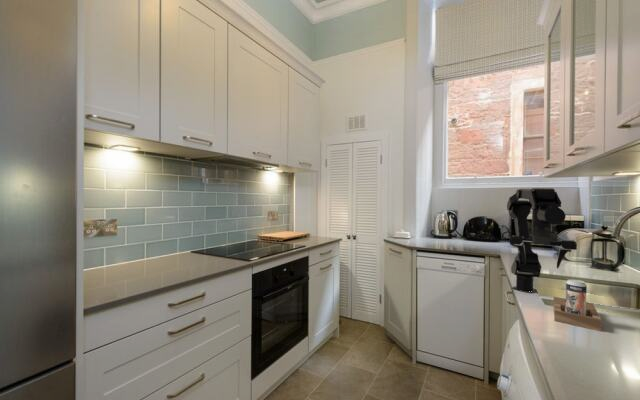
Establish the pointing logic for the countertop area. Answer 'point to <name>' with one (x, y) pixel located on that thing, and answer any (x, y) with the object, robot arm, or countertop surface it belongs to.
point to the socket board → (577, 315)
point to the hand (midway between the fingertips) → (540, 266)
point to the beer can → (576, 297)
